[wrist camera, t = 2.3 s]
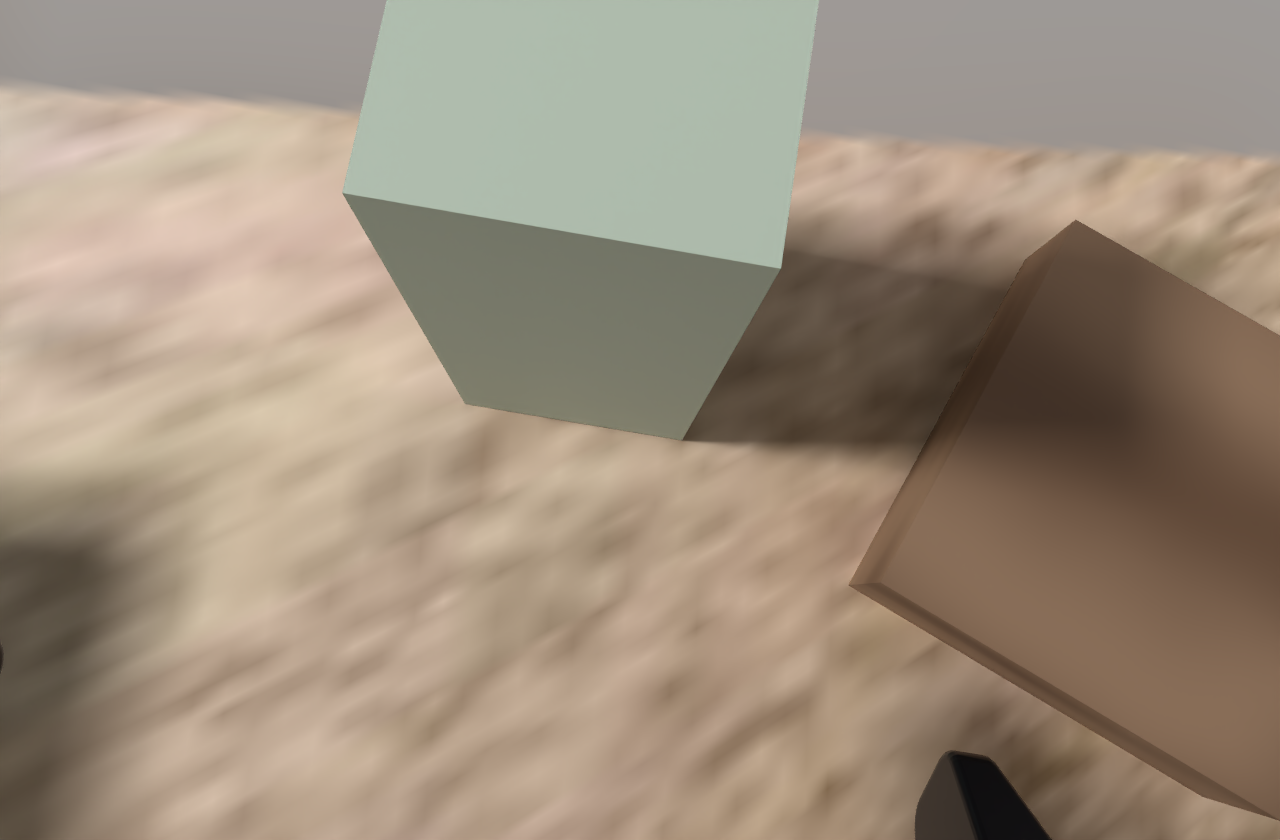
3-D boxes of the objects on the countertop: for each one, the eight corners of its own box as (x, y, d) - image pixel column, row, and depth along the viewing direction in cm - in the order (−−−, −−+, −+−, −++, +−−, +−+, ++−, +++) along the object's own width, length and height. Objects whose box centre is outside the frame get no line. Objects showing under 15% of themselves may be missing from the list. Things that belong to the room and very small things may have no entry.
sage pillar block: (682, 440, 23) (781, 268, 12) (465, 404, 23) (342, 193, 11) (713, 235, 24) (835, -117, 12) (505, 199, 24) (430, -190, 12)
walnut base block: (1192, 793, 23) (1281, 821, 20) (844, 585, 23) (880, 582, 20) (1347, 453, 25) (1450, 432, 22) (1018, 265, 25) (1075, 219, 22)
